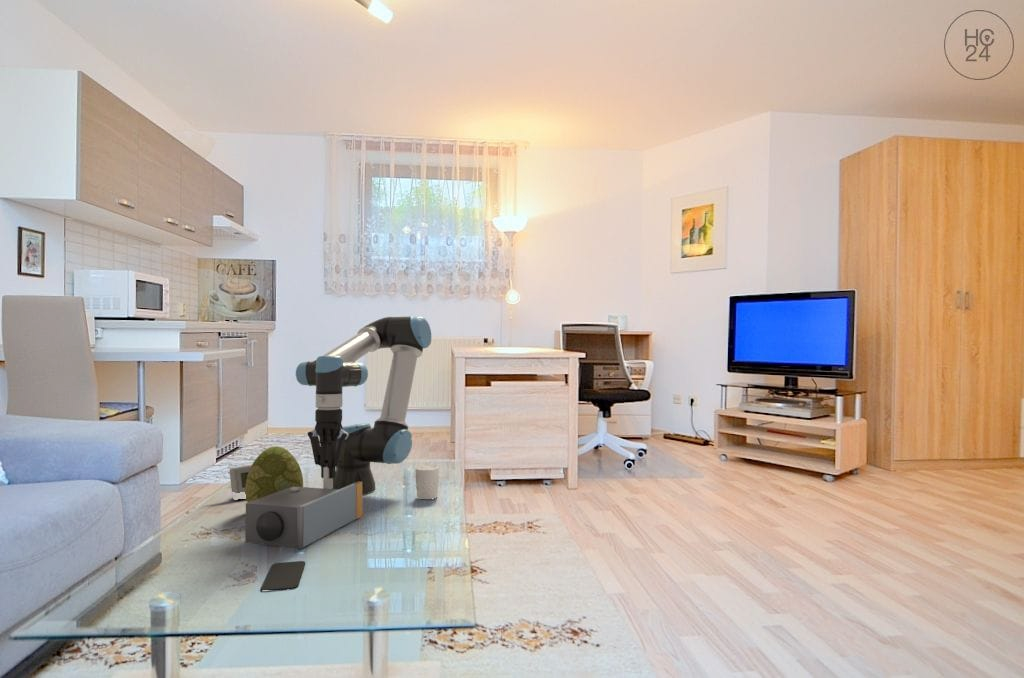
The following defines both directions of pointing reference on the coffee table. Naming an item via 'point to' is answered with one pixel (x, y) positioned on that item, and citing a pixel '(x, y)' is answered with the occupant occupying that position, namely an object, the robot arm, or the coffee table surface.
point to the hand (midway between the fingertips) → (328, 489)
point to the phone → (284, 576)
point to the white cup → (427, 481)
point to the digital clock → (239, 478)
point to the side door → (328, 513)
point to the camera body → (278, 515)
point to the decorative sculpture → (272, 473)
